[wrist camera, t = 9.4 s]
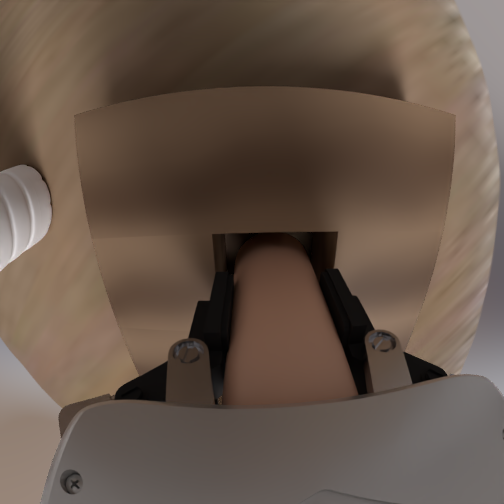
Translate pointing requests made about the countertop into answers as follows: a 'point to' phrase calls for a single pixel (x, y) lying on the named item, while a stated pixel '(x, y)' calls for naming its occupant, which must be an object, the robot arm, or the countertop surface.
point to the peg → (281, 329)
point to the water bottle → (22, 211)
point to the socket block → (261, 197)
